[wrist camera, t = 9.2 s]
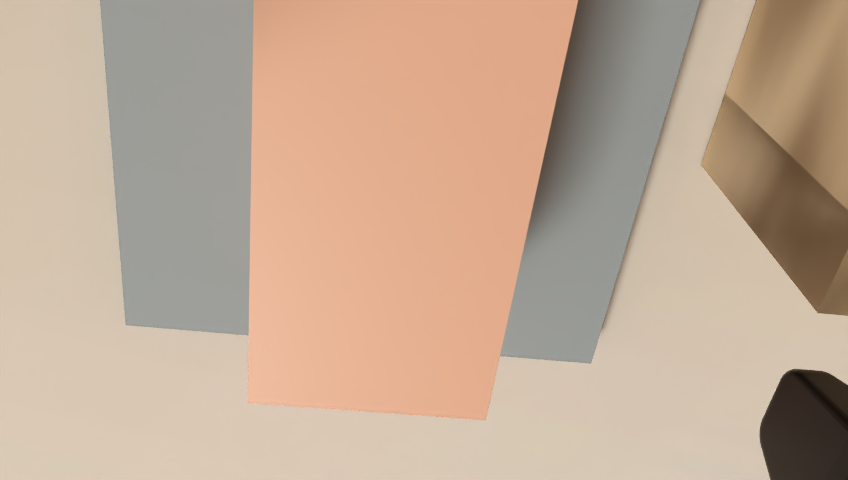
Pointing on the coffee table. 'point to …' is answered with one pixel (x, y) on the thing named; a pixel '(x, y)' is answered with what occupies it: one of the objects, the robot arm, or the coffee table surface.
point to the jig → (791, 142)
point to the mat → (231, 164)
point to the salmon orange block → (393, 195)
